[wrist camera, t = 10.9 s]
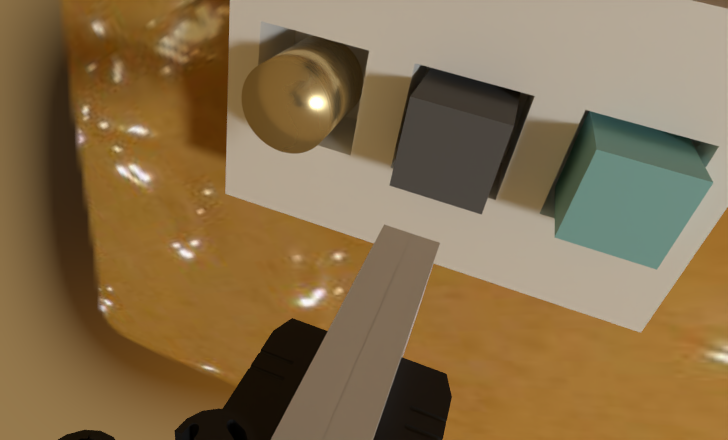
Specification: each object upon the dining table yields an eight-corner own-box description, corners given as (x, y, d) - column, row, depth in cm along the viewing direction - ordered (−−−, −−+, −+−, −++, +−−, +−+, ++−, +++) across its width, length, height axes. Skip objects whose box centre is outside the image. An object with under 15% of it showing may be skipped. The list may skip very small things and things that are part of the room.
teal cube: (590, 107, 22) (596, 149, 19) (687, 134, 22) (713, 182, 18) (554, 186, 25) (554, 237, 21) (641, 212, 24) (656, 269, 20)
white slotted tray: (286, -107, 24) (232, -108, 20) (789, 8, 21) (845, 36, 17) (267, 156, 32) (225, 193, 28) (629, 271, 29) (640, 332, 25)
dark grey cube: (433, 64, 23) (410, 96, 20) (521, 88, 23) (514, 126, 19) (413, 144, 26) (389, 185, 22) (492, 168, 25) (481, 214, 21)
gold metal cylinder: (289, 25, 24) (243, 48, 21) (370, 47, 24) (336, 75, 20) (283, 105, 27) (239, 138, 23) (356, 127, 26) (323, 164, 22)
